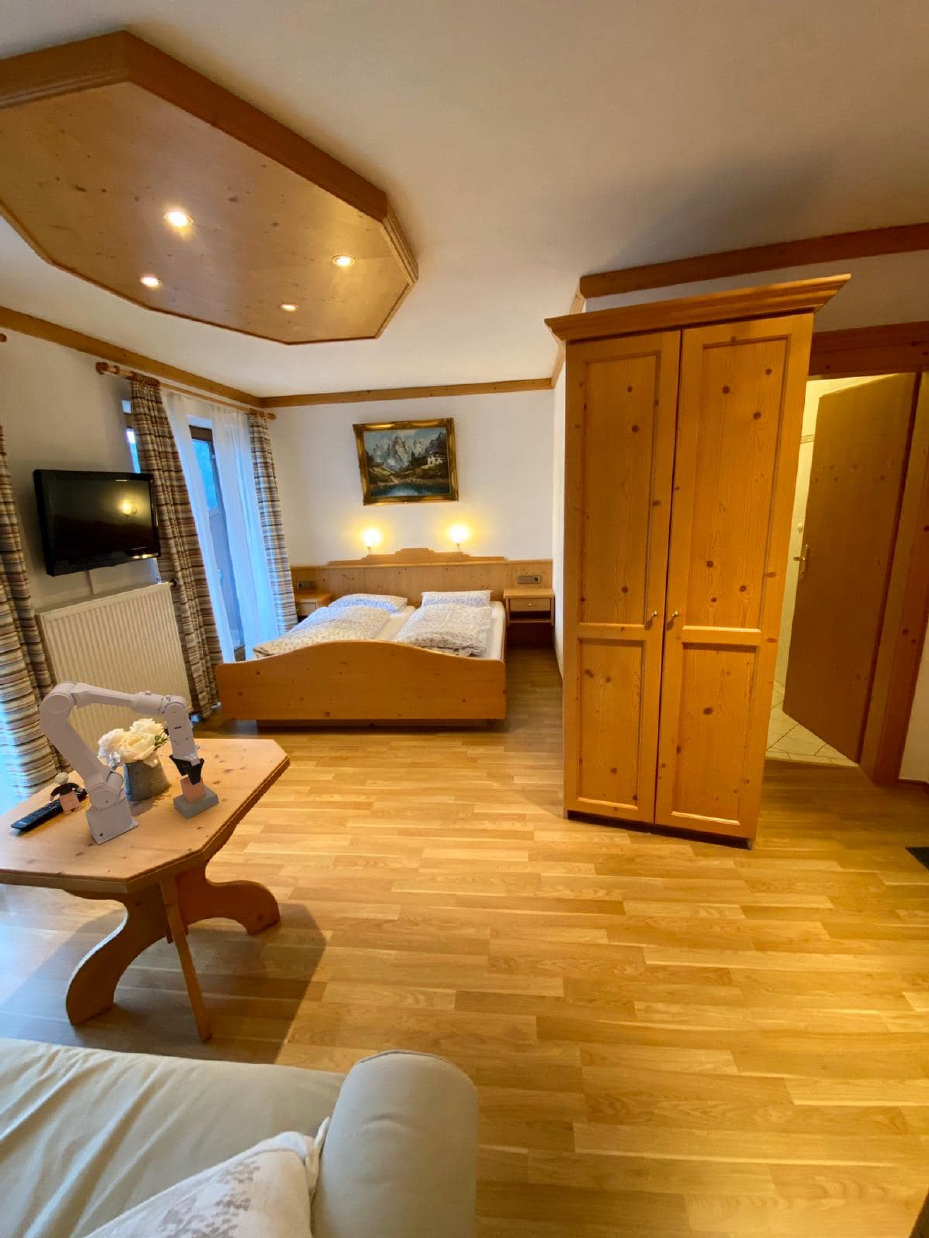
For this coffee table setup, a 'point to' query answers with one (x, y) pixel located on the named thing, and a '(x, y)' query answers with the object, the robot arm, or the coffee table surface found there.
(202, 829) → the coffee table surface
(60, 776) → the grandmother figurine
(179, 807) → the gray block
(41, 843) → the coffee table surface
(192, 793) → the terracotta block
